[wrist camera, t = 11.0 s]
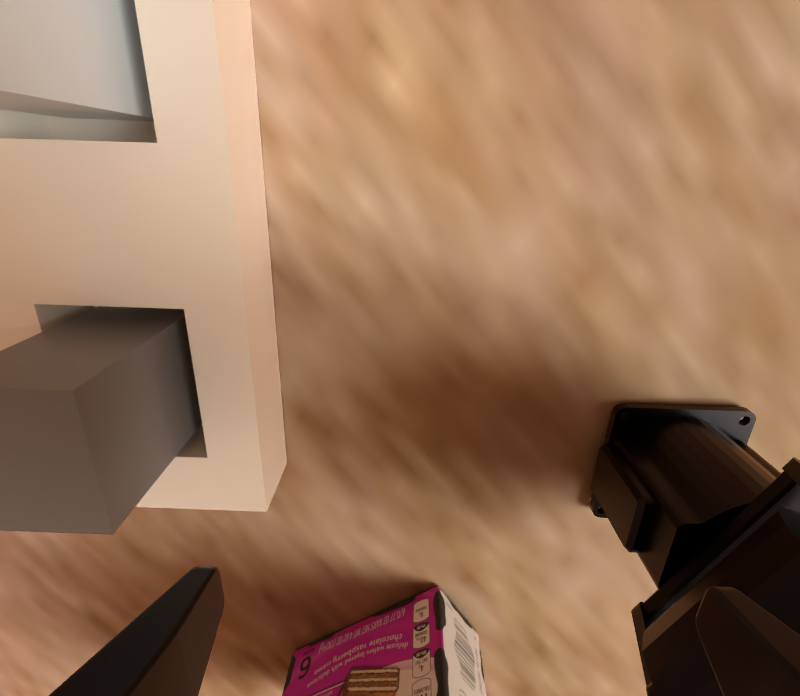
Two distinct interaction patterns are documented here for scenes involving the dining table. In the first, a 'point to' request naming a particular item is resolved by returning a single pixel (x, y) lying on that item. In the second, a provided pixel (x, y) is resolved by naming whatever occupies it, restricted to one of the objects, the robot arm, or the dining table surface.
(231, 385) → the power strip
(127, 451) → the twin plug
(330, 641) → the candy bar box
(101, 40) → the plug
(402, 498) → the dining table surface
